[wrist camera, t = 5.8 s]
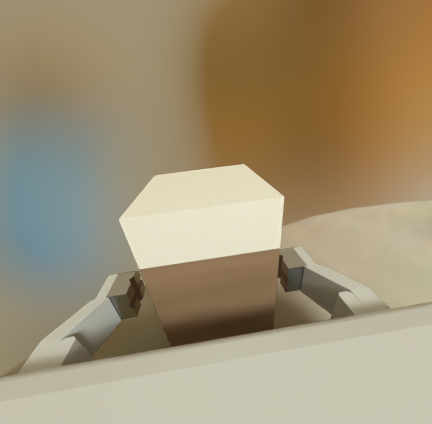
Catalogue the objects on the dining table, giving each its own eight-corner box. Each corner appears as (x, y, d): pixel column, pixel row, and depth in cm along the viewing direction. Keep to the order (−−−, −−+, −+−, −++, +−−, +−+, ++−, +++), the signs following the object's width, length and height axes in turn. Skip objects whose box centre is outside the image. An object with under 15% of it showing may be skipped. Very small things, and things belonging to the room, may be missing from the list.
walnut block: (269, 375, 11) (284, 196, 5) (189, 389, 11) (118, 219, 5) (247, 302, 15) (244, 164, 10) (191, 311, 15) (155, 175, 10)
